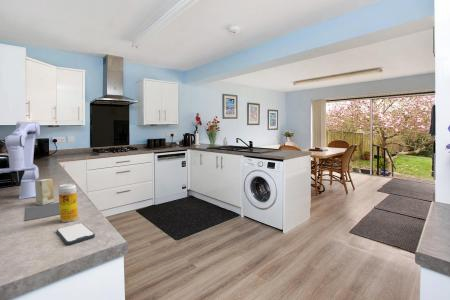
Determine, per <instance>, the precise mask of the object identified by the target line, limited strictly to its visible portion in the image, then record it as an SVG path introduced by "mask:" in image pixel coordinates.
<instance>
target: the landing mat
mask: <svg viewBox="0 0 450 300" xmlns="http://www.w3.org/2000/svg"><path fill="white" fill-rule="evenodd" d="M24 216H25V217H24V222H29V221H33V220H38V219H43V218H45V219H46V218H49V217H54V216H60V205H59V202H52V203H48V204H45V205H36V206H28V207H25V215H24Z"/></svg>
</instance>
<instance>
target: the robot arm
mask: <svg viewBox="0 0 450 300" xmlns="http://www.w3.org/2000/svg"><path fill="white" fill-rule="evenodd" d="M40 129H41V127H40V123H39V122H38V121H20V120H19V121H17V122H16V124H15V129H14V131H13V132H12V133H11V134H10V135H7V136H5V138H4V143H5V147H6V151H7V154H8V165H9V166H8V167H6V168H0V174H3V173H5V174H6V173H9V174H10V175H11V177H12V178H13V180H14V182H15V184H16V187H18V189H19V191H18V192H19V196H18V199H19V200H23V199H29V198H36V191H35V181H37V180H38V179H39V176H40V172H39V167H38V165H36V164H34V153H35V142H36V139H38V138H39V137H40V132H41V130H40Z"/></svg>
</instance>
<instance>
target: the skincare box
mask: <svg viewBox="0 0 450 300" xmlns="http://www.w3.org/2000/svg"><path fill="white" fill-rule="evenodd" d="M35 191H36V197H35V204H36V206H40V205H47V204H53V203H55V200H54V179H53V178H44V179H39V180H38V179H37V180H36V181H35Z"/></svg>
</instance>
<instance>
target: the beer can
mask: <svg viewBox="0 0 450 300" xmlns="http://www.w3.org/2000/svg"><path fill="white" fill-rule="evenodd" d="M77 195H78V194H77V186H76V184H75V183H64V184H59V186H58V203H59V205H60V215H59V217H60V221H61V222H62V223H71V222H74V221H76V220H77V219H78V217H79V214H78V213H79V212H78V198H77Z"/></svg>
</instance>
